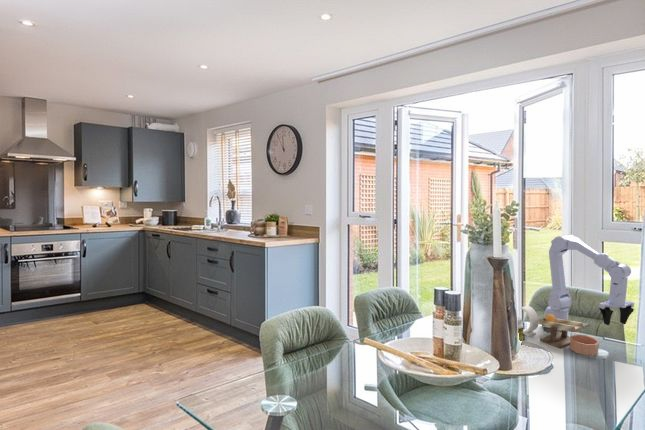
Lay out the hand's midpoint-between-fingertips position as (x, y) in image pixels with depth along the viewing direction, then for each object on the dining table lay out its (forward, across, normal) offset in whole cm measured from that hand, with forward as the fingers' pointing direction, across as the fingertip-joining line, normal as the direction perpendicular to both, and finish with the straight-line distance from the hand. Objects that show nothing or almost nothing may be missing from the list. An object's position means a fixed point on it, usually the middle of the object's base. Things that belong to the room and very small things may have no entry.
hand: (614, 323), depth 186 cm
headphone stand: (+10, -27, +18) cm, 34 cm away
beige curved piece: (+6, -17, +8) cm, 19 cm away
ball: (+1, -21, +12) cm, 24 cm away
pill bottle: (+10, -39, +10) cm, 41 cm away
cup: (+10, -15, -1) cm, 18 cm away
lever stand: (+10, -19, +8) cm, 23 cm away
